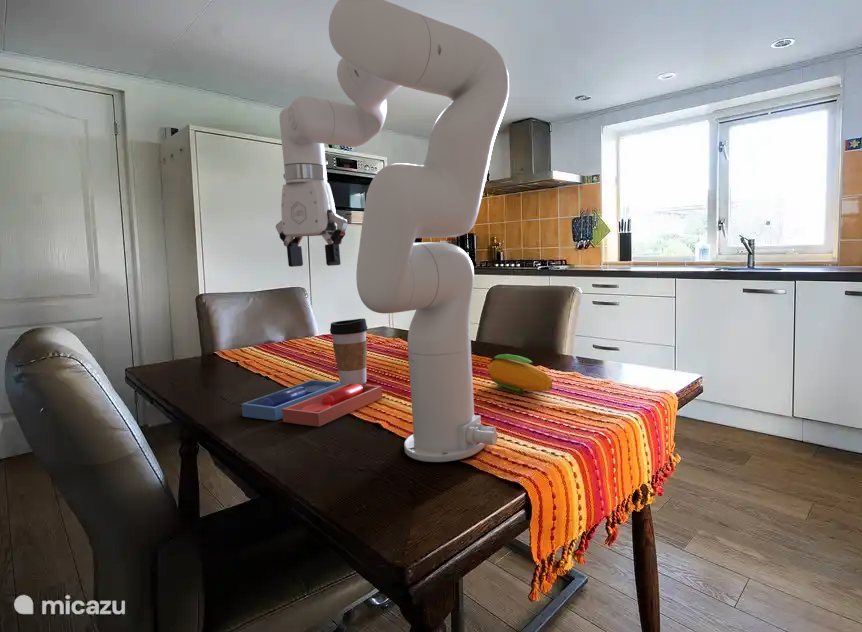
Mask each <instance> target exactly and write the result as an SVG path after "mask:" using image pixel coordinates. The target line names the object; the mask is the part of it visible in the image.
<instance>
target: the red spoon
mask: <svg viewBox="0 0 862 632" xmlns="http://www.w3.org/2000/svg"><path fill="white" fill-rule="evenodd" d="M362 393H363V387H362V386H361V385H360V384H353V385H351V386H348V387H346V388H343V389H341V390H338V391H336V392H333V393H331V394H328V395H326V396H324V397H323V399H322V402H321V403H317V404H311V405H307V406H305V407H303V408H302V409H301V410H304V411H312V412H319V411H322V410H324V409H326V408H329V407H331V406H334V405H336V404H338V403H341V402H343V401H345V400H348V399H350V398H352V397H355V396H357V395H359V394H362Z"/></svg>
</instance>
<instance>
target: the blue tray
mask: <svg viewBox="0 0 862 632" xmlns="http://www.w3.org/2000/svg"><path fill="white" fill-rule="evenodd" d="M315 385H322V386H325V387H326V388H324V389H321V390H318V391H316V392H313V393H310V394H308V395H305V396H302V397H300V398H297V399H294V400H292V401H289V402H286V403H284V404H281V405H278V406H276V407H271V406H263V405H261V402H262V400H264V399H265V398H267V397H270V396H273V395H276V394H279V393H282V392H285V391H288V390H290V389H293V388H296V387H299V386H302V387H308V386H315ZM341 386H342V383H341V382H340V381H328V380H316V379H310V380H307V381H304V382H301V383H298V384H296V385H293V386H290V387H287V388H284V389H281V390H278V391H275V392H272V393H270V394H266V395H264V396H261V397H258V398H254V399H252V400H249V401H246V402H243V403H240V405H241V406H240V407H241V415H242V417H245V418H253V419H259V420H265V421H266V420H267V421H274V422H276V421H279V420H281V419H283V414H282V409H283V408H286V407H289V406H291V405H294V404H296V403H299V402H302V401H304V400H307V399H309V398H312V397H315V396H317V395H320V394H322V393H325V392H328V391H330V390H333V389H335V388H338V387H341Z"/></svg>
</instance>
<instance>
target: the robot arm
mask: <svg viewBox="0 0 862 632" xmlns="http://www.w3.org/2000/svg"><path fill="white" fill-rule="evenodd" d="M328 37H329V40H330V43H331V46H332V48H333V49H334V51H335V52H336V54H337V55H339V56H340V57H341V58H340V60H339V61H338V64H337V68H336V75H337V81H338V83H339V86H340V88H341V90H342V92H343V93H344V94H345V95H346V96H347V98H348V99H349V100H350V101H351V102H353V103H354V104H348V103H344V102H339V101H335V100H331V99H323V98H317V97H313V96H298V97H295V99H294V100H293V101H291V104H290V105H289V107H285V108H283V109H282V110H281V111H280V113H279V128H280V129H279V130H280V138H281V148H282V149H281V150H282V160H283V169H284V173H283V175H282V176H283V179H284V181H285V184H282V189H281V205H280V206H281V208H280V210H281V220H279V222H278V223H276V225H275V230H276V232H277V233H278V235H279V239H280V241H282V242H283V246H284V247H285V248H286V254H287V255H286V256H287V264H288V267H291V268H293V267H303V265H304V259H303V249H302V246H301V245H300V243H301V241H302V239H303V238H304V237H318V236H319V237H320V236H321V237H322V238H323V239H324V241H325V242H326V243H327V244H324V252H325V261H326V262H325V265H326V266H327V267H331V266H333V267H334V266H341V251H340V245H341V244H342V243H343V241H342V240H343V239H344V237H345V236H346V231H347V228H348V224H349V222H348V221H349V220H347V219H345V218H344V217H343V216H340V215H338V214H337V212H336V207H335V205H336V204H335V200H334V197H333V192H332V188H331V185H330V183H329V182H328V174H327V172H328V171H327V163H326V150H325V144H326V145H332V146H339V147H348V148H356V147H360V146H363V145H364V144H366V143H368V142H369V141H371V140H372V139H373V138H374V137H376V135H378V134H379V133H380V132H381V130H382V129H383V127H384V125H385V122H386V117H387V113H388V103H387V99H388V98H389V97H391V95H393V94H394V93H395V92H396V91H397V90H398V89H399V88H401V87H404V88H409V89H412V90H416V91H420V92H425V93H429V94H433V95H438V96H442V97H446V98H448V99H450V100H451V102H450V103H449V104H448V105H447V106H446V107H445V108H444V109H443V111H442V112H441V113H440V114H439V115H438V117H437V119H436V121H435V123H434V124H433V126H432V129H431V130H430V134H429V138H428V139H429V140H428V146H427V152H426V156H425V159H424V162H423V163H422V164H414V163H405V162H403V163H402V162H398V163H391V164H388V165H386V166H383V167H382V168H381V169H379V171H378V172H377V173H376V174H375V175H374V177H373V178H372V180H371V182H370V184H369V186H368V189H367V192H366V197H365V201H364V206H363V207H364V209H363V216H362V223H361V231H360V239H359V247H358V253H357V260H356V261H357V262H356V272H355V273H356V277H355V278H356V289H357V292H358V296H359V298H360V300H361V302H362V304H363V305H364V306H365V307H366V308H367V309H369V310H370V311H371V312H375V313H376V314H397V313H404V312H410V311H414V314H413V316H412V319H411V320H410V324H409V327H408V332H407V357H408V358H407V359H408V371H409V386H410V397H411V398H410V399H411V400H410V402H411V416H412V431H413V434H410V436H408V437H407V438H406V439H405V440H404V443H403V449H404V453H405V454H406V455H407V456H408V457H409V458H411V459H413V460H416V461H420V462H425V463H426V462H427V463H448V462H454V461H459V460H463V459H466V458H469V457H472V456H474V455H476V454H478V453H479V452H481V451H482V450H483V449H484V448H485V446H486V445H491V446H496V444H497V442H498V432H497V427H496V426H490V425H489V426H488V425H487V426H484V425H483V424H482V419H481V418H482V417H481V415H477V414H475V401H474V400H475V399H474V382H473V379H474V378H473V361H472V338H471V310H472V309H471V308H472V299H473V292H474V285H475V268H474V264H473V261H472V260H471V257H470V256H469V254H468V253H467V252H466V251H465V250H464V249H463V248H462V247H460V246H458V245H456V244H453V243H448V242H443V241H441V242H439V241H427V242H424V241H423V242H416V239H433V238H437V239H438V238H439V239H440V238H455V237H460V236H464V235H466V234H468V233H470V231H471V230H472V229H473V228H474V226H475V224H476V222H477V219H478V215H479V212H480V207H481V203H482V199H483V194H484V190H485V184H486V181H487V175H488V171H489V167H490V162H491V157H492V152H493V147H494V144H495V140H496V137H497V134H498V131H499V128H500V125H501V123H502V120H503V117H504V115H505V111H506V108H507V105H508V100H509V95H510V77H509V71H508V68H507V64H506V62H505V60H504V58H503V56H502V55H501V53H500V52H499V51H498V50H497V49H496V48H495V47H494V46H493V45H492V44H491V43H489V42H488V41H486V40H485V39H483V38H481V37H479V36H477V35H476V34H473V33H471V32H469V31H467V30H465V29H462V28H459V27H457V26H454V25H452V24H448V23H445V22H442V21H440V20H437V19H434V18H431V17H429V16H427V15H423V14H421V13H418V12H415V11H413V10H410V9H408V8H406V7H403V6H401V5H398V4H395V3H392V2H390V1H387V0H337V2H336V3H335V4H334V6H333V8H332V10H331V13H330V15H329V21H328Z"/></svg>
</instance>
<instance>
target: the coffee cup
mask: <svg viewBox="0 0 862 632" xmlns="http://www.w3.org/2000/svg"><path fill="white" fill-rule="evenodd" d="M368 330H369V329H368V325H367V321H366V318H353V319H345V320H338V321H333V322H330V329H329V334H331V337H332V348H333V353H334V359H335V363H336V368H337V373H338V379H339V382H341V383H342V386H343V385H346V384H348V383H352V384H363V385H365V383H367V362H368V361H367V354H368V339H367V332H368Z"/></svg>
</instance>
